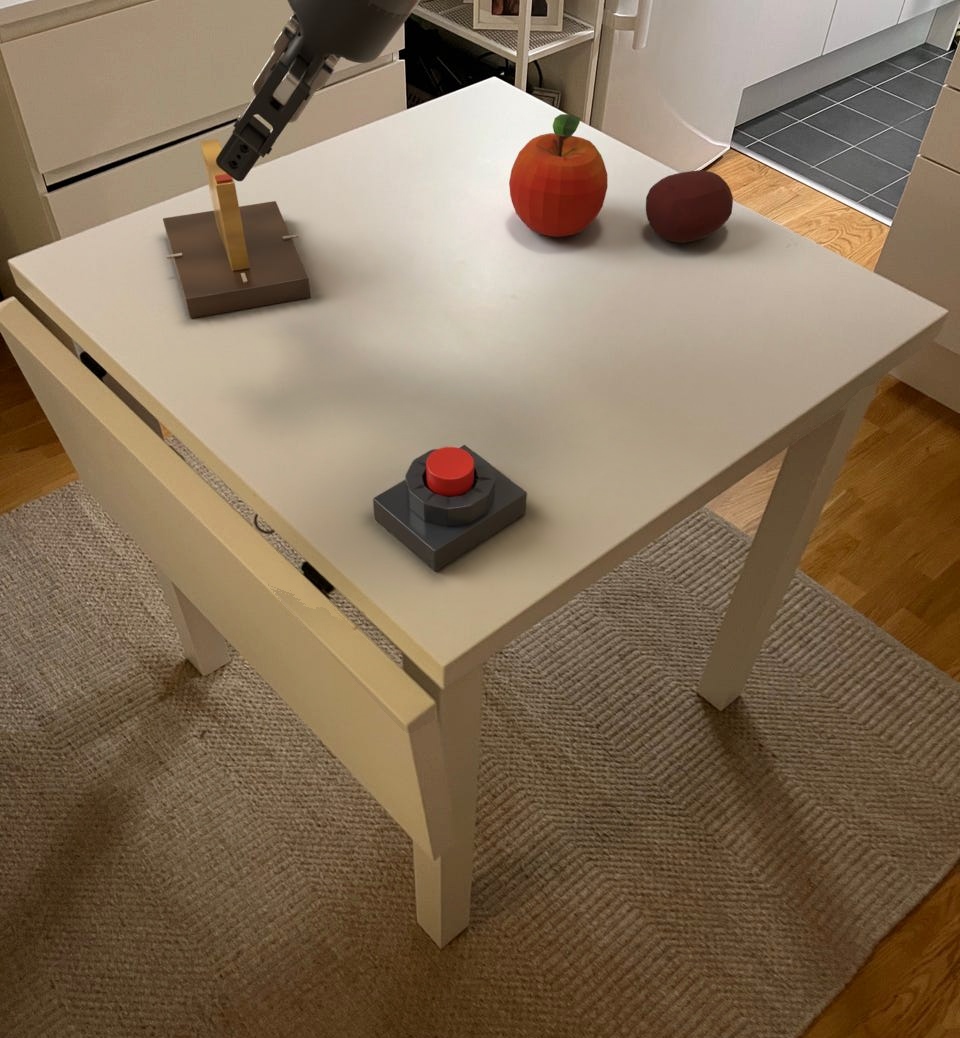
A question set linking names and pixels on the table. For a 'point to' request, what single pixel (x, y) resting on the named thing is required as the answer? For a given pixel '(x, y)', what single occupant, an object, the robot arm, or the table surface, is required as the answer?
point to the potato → (688, 205)
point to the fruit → (558, 181)
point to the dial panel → (210, 271)
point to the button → (450, 471)
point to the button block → (448, 511)
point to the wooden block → (225, 207)
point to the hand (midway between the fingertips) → (246, 140)
